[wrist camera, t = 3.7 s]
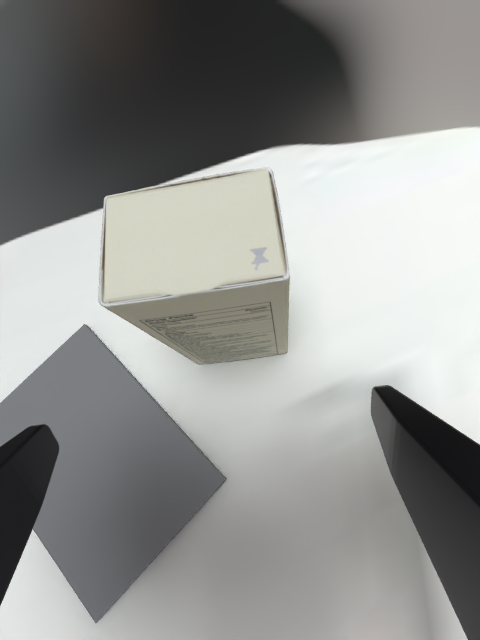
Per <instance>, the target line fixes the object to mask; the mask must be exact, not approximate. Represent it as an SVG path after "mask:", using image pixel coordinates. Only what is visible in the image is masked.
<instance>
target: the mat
mask: <svg viewBox="0 0 480 640" xmlns="http://www.w3.org/2000/svg"><path fill="white" fill-rule="evenodd" d="M37 424H46V425H48V426H49V427H50V429H51V431H52V433H53V434H54V436H55V438H56V439H57V441H58V443H59V454H58V457H57V460H56V464H55V467H54V470H53V473H52V476H51V479H50V483H49V486H48V489H47V492H46V495H45V498H44V501H43V504H42V507H41V510H40V512H39V515H38V517H37V520H36V522H35V524H34V527H33V530H34V531H35V533H36V534H37V536H38V537H39V539H40V540H41V542H42V543H43V545H44V546H45V548H46V549H47V551H48V552H49V554H50V555H51V557H52V558H53V560H54V561H55V563H56V564H57V566H58V567H59V569H60V570H61V572H62V573H63V575H64V576H65V578H66V579H67V581H68V582H69V584H70V585H71V587H72V588H73V590H74V591H75V593H76V594H77V596H78V597H79V599H80V600H81V602H82V603H83V605H84V606H85V608H86V609H87V611H88V612H89V614H90V615H91V617H92V618H93V620H94V621H95V623H97V622H98V621H99V620H100V619H101V618H102V616H103V615H104V614H105V613H106V612H107V611H108V610H109V609H110V608H111V606H112V605H113V604H114V603H115V602H116V601H117V600H118V599H119V598H120V596H121V595H122V594H123V593H124V592H125V591H126V590H127V589H128V588H129V586H130V585H131V584H132V583H133V582H134V581H135V580H136V579H137V578H138V576H139V575H140V574H141V573H142V572H143V571H144V570H145V569H146V568H147V566H148V565H149V564H150V563H151V562H152V561H153V560H154V559H155V558H156V557H157V555H158V554H159V553H160V552H161V551H162V550H163V549H164V548H165V547H166V545H167V544H168V543H169V542H170V541H171V540H172V539H173V538H174V537H175V535H176V534H177V533H178V532H179V531H180V530H181V529H182V528H183V527H184V525H185V524H186V523H187V522H188V521H189V520H190V519H191V518H192V517H193V515H194V514H195V513H196V512H197V511H198V510H199V509H200V508H201V507H202V505H203V504H204V503H205V502H206V501H207V500H208V499H209V498H210V497H211V495H212V494H213V493H214V492H215V491H216V490H217V489H218V488H219V487H220V485H221V484H222V483H223V482H224V481H225V480H226V478H225V477H224V476H223V475H222V474H221V473H220V472H219V471H218V469H217V468H216V467H215V466H214V465H213V464H212V463H211V462H210V461H209V459H208V458H207V457H206V456H205V455H204V454H203V453H202V452H201V451H200V450H199V448H198V447H197V446H196V445H195V444H194V443H193V442H192V441H191V440H190V438H189V437H188V436H187V435H186V434H185V433H184V432H183V431H182V430H181V429H180V427H179V426H178V425H177V424H176V423H175V422H174V421H173V420H172V419H171V418H170V416H169V415H168V414H167V413H166V412H165V411H164V410H163V409H162V408H161V406H160V405H159V404H158V403H157V402H156V401H155V400H154V399H153V398H152V397H151V395H150V394H149V393H148V392H147V391H146V390H145V389H144V388H143V387H142V386H141V384H140V383H139V382H138V381H137V380H136V379H135V378H134V377H133V376H132V374H131V373H130V372H129V371H128V370H127V369H126V368H125V367H124V366H123V365H122V363H121V362H120V361H119V360H118V359H117V358H116V357H115V356H114V355H113V354H112V352H111V351H110V350H109V349H108V348H107V347H106V346H105V345H104V344H103V342H102V341H101V340H100V339H99V338H98V337H97V336H96V335H95V334H94V333H93V331H92V330H91V329H90V328H89V327H88V326H87V325H85V324H84V325H83V326H82V327H81V328H80V329H79V330H78V331H77V332H76V333H74V334H73V335H72V336H71V337H70V338H69V339H68V340H67V341H66V342H65V343H64V344H63V345H62V346H61V347H60V348H59V349H57V350H56V351H55V352H54V353H53V354H52V355H51V356H50V357H49V358H48V359H47V360H46V361H45V362H44V363H43V364H41V365H40V366H39V367H38V368H37V369H36V370H35V371H34V372H33V373H32V374H31V375H30V376H29V377H28V378H27V379H25V380H24V381H23V382H22V383H21V384H20V385H19V386H18V387H17V388H16V389H15V390H14V391H13V392H12V393H11V394H10V395H8V396H7V397H6V398H5V399H4V400H3V401H2V402H1V403H0V446H2V445H3V444H5V443H6V442H7V441H9V440H10V439H12V438H13V437H15V436H16V435H17V434H19V433H20V432H22V431H23V430H24V429H26V428H27V427H29V426H31V425H37Z"/></svg>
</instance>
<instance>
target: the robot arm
mask: <svg viewBox="0 0 480 640" xmlns="http://www.w3.org/2000/svg"><path fill="white" fill-rule="evenodd" d="M371 416H372V419H373V422H374V425H375V428H376V431H377V434H378V437H379V440H380V443H381V446H382V449H383V452H384V455H385V458H386V461H387V464H388V467H389V470H390V472H391V475H392V477H393V479H394V482H395V484H396V486H397V488H398V490H399V493H400V495H401V497H402V499H403V501H404V503H405V505H406V508H407V510H408V512H409V514H410V516H411V518H412V521H413V523H414V525H415V527H416V529H417V531H418V533H419V536H420V538H421V540H422V542H423V544H424V546H425V548H426V551H427V553H428V555H429V557H430V559H431V561H432V563H433V566H434V568H435V570H436V572H437V574H438V576H439V578H440V581H441V583H442V585H443V587H444V589H445V591H446V593H447V596H448V598H449V600H450V602H451V604H452V606H453V608H454V611H455V613H456V615H457V617H458V619H459V621H460V623H461V626H462V628H463V630H464V632H465V634H466V636H467V639H468V640H480V444H478V443H476V442H475V441H473V440H472V439H470V438H469V437H467V436H466V435H464V434H463V433H461V432H460V431H458V430H457V429H455V428H454V427H452V426H451V425H449V424H448V423H446V422H445V421H443V420H442V419H440V418H439V417H437V416H435V415H434V414H432V413H431V412H429V411H428V410H426V409H425V408H423V407H422V406H420V405H419V404H417V403H416V402H414V401H413V400H411V399H410V398H408V397H407V396H405V395H404V394H402V393H401V392H399V391H397V390H396V389H394V388H393V387H391V386H389V385H383V386H375V387H373V389H372V397H371ZM58 454H59V443H58V441H57V439H56V438H55V436H54V434H53V433H52V431H51V429H50V427H49V426H48V425H46V424H37V425H31V426H29V427H27V428H26V429H24V430H23V431H22V432H20V433H19V434H17V435H16V436H15V437H13V438H12V439H10V440H9V441H7V442H6V443H5V444H3V445H2V446H0V605H1V603H2V601H3V598H4V596H5V594H6V591H7V589H8V586H9V584H10V582H11V579H12V577H13V574H14V572H15V570H16V567H17V565H18V563H19V560H20V558H21V555H22V553H23V551H24V548H25V546H26V543H27V541H28V539H29V536H30V534H31V532H32V529H33V527H34V524H35V522H36V520H37V517H38V515H39V512H40V510H41V507H42V504H43V501H44V498H45V495H46V492H47V489H48V486H49V483H50V479H51V476H52V473H53V470H54V467H55V464H56V460H57V457H58Z"/></svg>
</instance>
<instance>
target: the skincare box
mask: <svg viewBox="0 0 480 640" xmlns="http://www.w3.org/2000/svg"><path fill="white" fill-rule="evenodd" d="M289 281H290V276H289V267H288V259H287V252H286V244H285V237H284V230H283V223H282V217H281V211H280V205H279V200H278V194H277V189H276V185H275V180H274V175H273V171H272V169H271V168H259V169H249V170H243V171H236V172H230V173H223V174H216V175H212V176H206V177H201V178H195V179H189V180H184V181H179V182H174V183H169V184H163V185H158V186H153V187H148V188H143V189H139V190H133V191H129V192H125V193H120V194H115V195H110V196H107V197H105V198H104V210H103V222H102V237H101V256H100V271H99V303H100V305H101V306H103V307H105V308H106V309H108V310H110V311H111V312H113V313H115V314H116V315H118V316H120V317H121V318H123V319H125V320H126V321H128V322H130V323H131V324H133V325H135V326H136V327H138V328H139V329H141V330H143V331H144V332H146V333H147V334H149V335H151V336H152V337H154V338H156V339H157V340H159V341H161V342H162V343H164V344H165V345H167V346H169V347H170V348H172V349H174V350H175V351H177V352H179V353H180V354H182V355H184V356H185V357H187V358H189V359H190V360H192V361H194V362H195V363H197V364H209V363H218V362H228V361H236V360H244V359H251V358H258V357H265V356H272V355H277V354H284V353H287V347H288V309H289Z"/></svg>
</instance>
